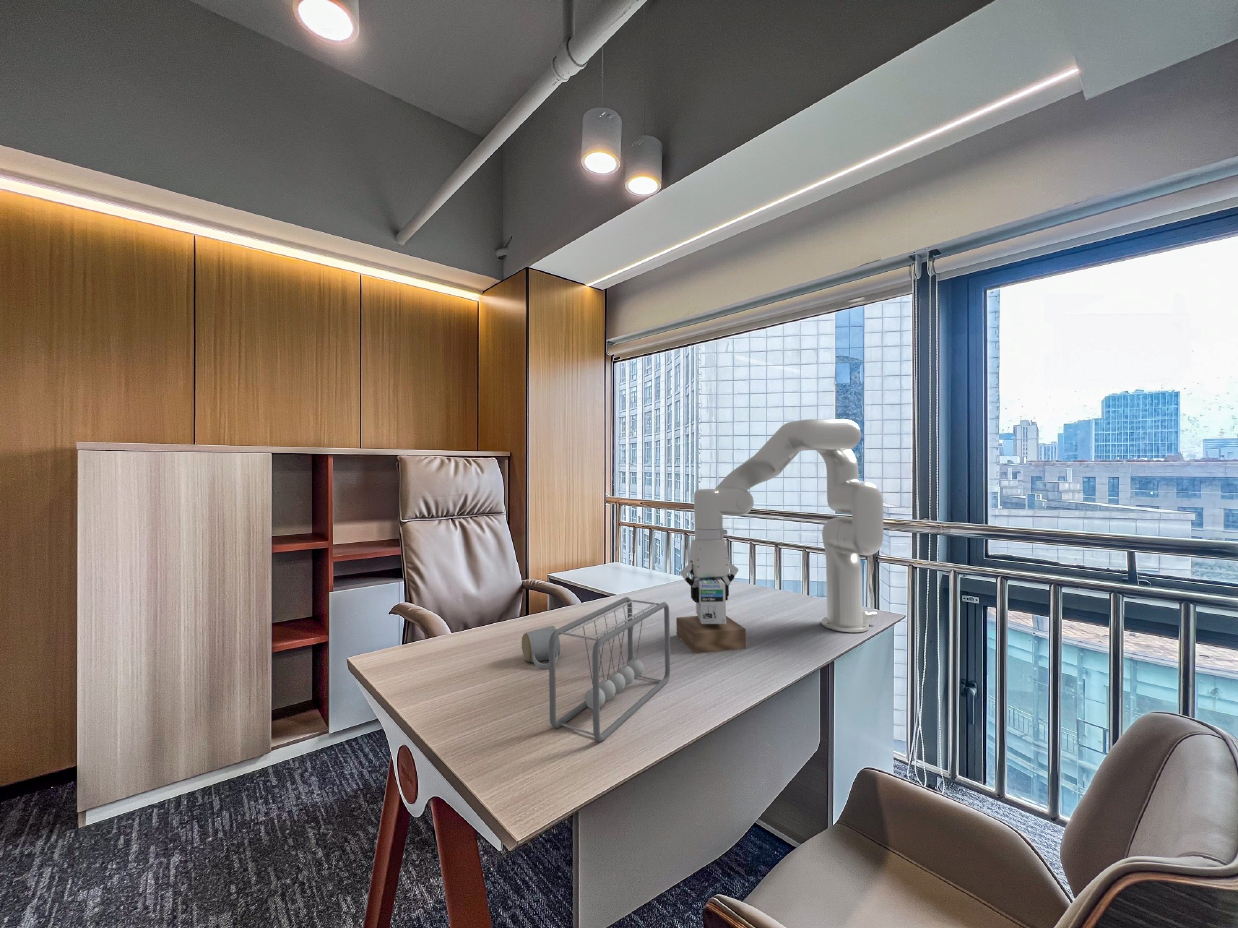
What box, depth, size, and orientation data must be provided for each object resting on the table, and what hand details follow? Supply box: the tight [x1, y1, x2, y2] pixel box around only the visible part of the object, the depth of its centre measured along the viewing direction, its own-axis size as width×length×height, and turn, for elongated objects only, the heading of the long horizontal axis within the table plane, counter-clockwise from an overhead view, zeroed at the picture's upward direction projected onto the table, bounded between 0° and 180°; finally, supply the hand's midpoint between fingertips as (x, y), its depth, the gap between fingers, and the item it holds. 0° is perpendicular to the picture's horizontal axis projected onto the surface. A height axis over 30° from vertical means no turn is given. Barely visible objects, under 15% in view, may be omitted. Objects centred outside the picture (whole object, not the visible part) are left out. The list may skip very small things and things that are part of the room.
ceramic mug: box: [521, 625, 561, 670], centre depth 121 cm, size 11×8×8 cm
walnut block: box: [675, 615, 747, 654], centre depth 133 cm, size 14×14×5 cm
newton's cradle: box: [548, 596, 671, 743], centre depth 99 cm, size 30×10×18 cm, turn 150°
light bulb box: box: [695, 577, 727, 624], centre depth 133 cm, size 11×7×11 cm, turn 179°
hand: (710, 599), depth 133 cm, fingers closed on light bulb box, 7 cm apart
